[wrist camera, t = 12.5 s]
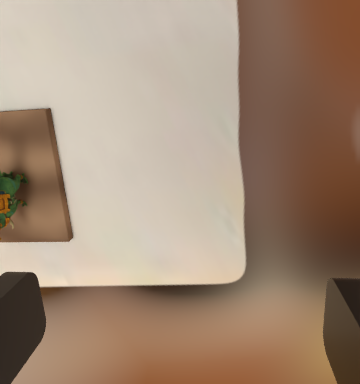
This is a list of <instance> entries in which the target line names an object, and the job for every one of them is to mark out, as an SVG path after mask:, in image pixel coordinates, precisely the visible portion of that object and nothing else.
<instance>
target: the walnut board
mask: <svg viewBox="0 0 360 384" xmlns="http://www.w3.org/2000/svg"><path fill="white" fill-rule="evenodd" d="M0 171H1V173H2V174H3V172H5V173H7V174H9V173H10V172H11V171H12V172H13V173H12V175H13V178H14V179H15V177H16V175H17V174H18V175H22V173H24V177H25V178H26V179H27V181H28V184H27V183H25V184H24V183H23V182H22V183H21V180H20V186H19V189H18V190H17V191H16V193H15V194H14V195H15V197H16V199H17V200H19V199H20V200H21V199H22V201H25V202H26V204H27V206H26V205H25V204H24V207H23V206H22V204H18V206H17V210H16V212H15V213H14V214H13V215H12V216H11V217H10V219H11V220H12V221H13V224H14V228H12V225H11V224H10V223H8V225H7V226H6V227H3V228H2V229H1V230H0V238H1V241H0V242H69V241H70V240H71V239H72V238H73V235H72V229H71V224H70V218H69V212H68V206H67V201H66V195H65V189H64V184H63V178H62V172H61V167H60V161H59V155H58V150H57V144H56V138H55V133H54V127H53V121H52V116H51V110H50V108H49V109H34V110H19V111H4V112H0ZM25 182H26V181H25Z"/></svg>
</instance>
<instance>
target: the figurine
mask: <svg viewBox="0 0 360 384" xmlns="http://www.w3.org/2000/svg"><path fill="white" fill-rule="evenodd" d="M12 173H13V172H12V171H11V172H10V173H9V174H7V173H5V172H3V174H2V173H1V171H0V230H1V229H2V228H3V227H6V226H7V225H8V223H10V224H11V225H12V228H14V224H13V221H12V220H11V219H10V217H11V216H12V215H13V214H14V213H15V212H16V210H17V206H18V204H22V206H23V207H24V204H25V205H26V206H27V204H26V202H25V201H22V199H21V200H20V199H19V200H17V199H16V197H15V195H14V194H15V193H16V191H17V190H18V189H19V186H20V180H21V183H22V182H23V183H24V184H25V183H27V184H28V181H27V179H26V178H25V177H24V173H22V175H18V174H17V175H16V177H15V179H14V178H13V175H12ZM25 181H26V182H25ZM0 241H1V238H0Z"/></svg>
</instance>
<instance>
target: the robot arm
mask: <svg viewBox="0 0 360 384" xmlns="http://www.w3.org/2000/svg"><path fill="white" fill-rule="evenodd" d="M45 327H46V317H45V312H44V307H43V302H42V297H41V292H40V287H39V282H38V278H37V276H36V275H35V274H34V273H32V272H5V273H3V274H2V275H1V276H0V384H11V383H12V381H13V380H14V378H15V377H16V376H17V374H18V373H19V371H20V370H21V368H22V367H23V365H24V364H25V363H26V361H27V360H28V359H29V357H30V356H31V354H32V353H33V352H34V350H35V349H36V347H37V346H38V344H39V343H40V342H41V340H42V338H43V335H44V332H45ZM323 338H324V346H325V350H326V354H327V357H328V360H329V362H330V365H331V368H332V370H333V373H334V376H335V378H336V381H337V384H360V279H350V278H330V279H329V280H328V283H327V289H326V302H325V313H324V326H323Z"/></svg>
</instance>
